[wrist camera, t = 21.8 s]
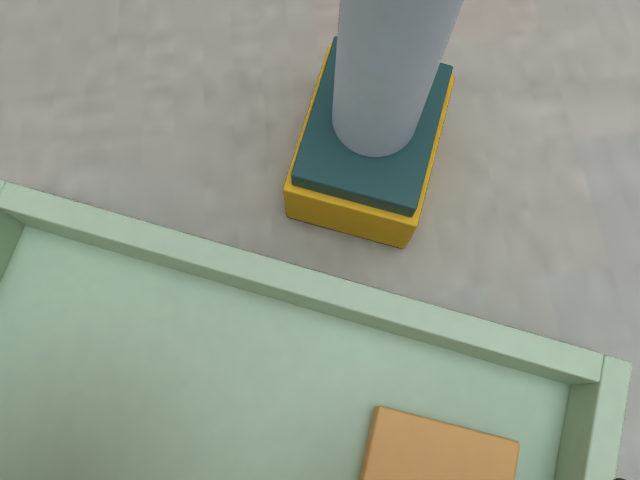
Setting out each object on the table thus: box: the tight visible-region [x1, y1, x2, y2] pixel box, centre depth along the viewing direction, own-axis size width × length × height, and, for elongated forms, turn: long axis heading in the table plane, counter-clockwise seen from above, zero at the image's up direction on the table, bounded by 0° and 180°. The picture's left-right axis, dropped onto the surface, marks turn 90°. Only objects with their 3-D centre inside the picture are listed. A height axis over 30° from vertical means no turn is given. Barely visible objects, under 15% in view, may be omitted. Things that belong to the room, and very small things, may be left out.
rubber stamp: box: [283, 0, 463, 249], centre depth 14 cm, size 5×4×14 cm
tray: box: [0, 180, 633, 480], centre depth 17 cm, size 19×10×2 cm, turn 74°
